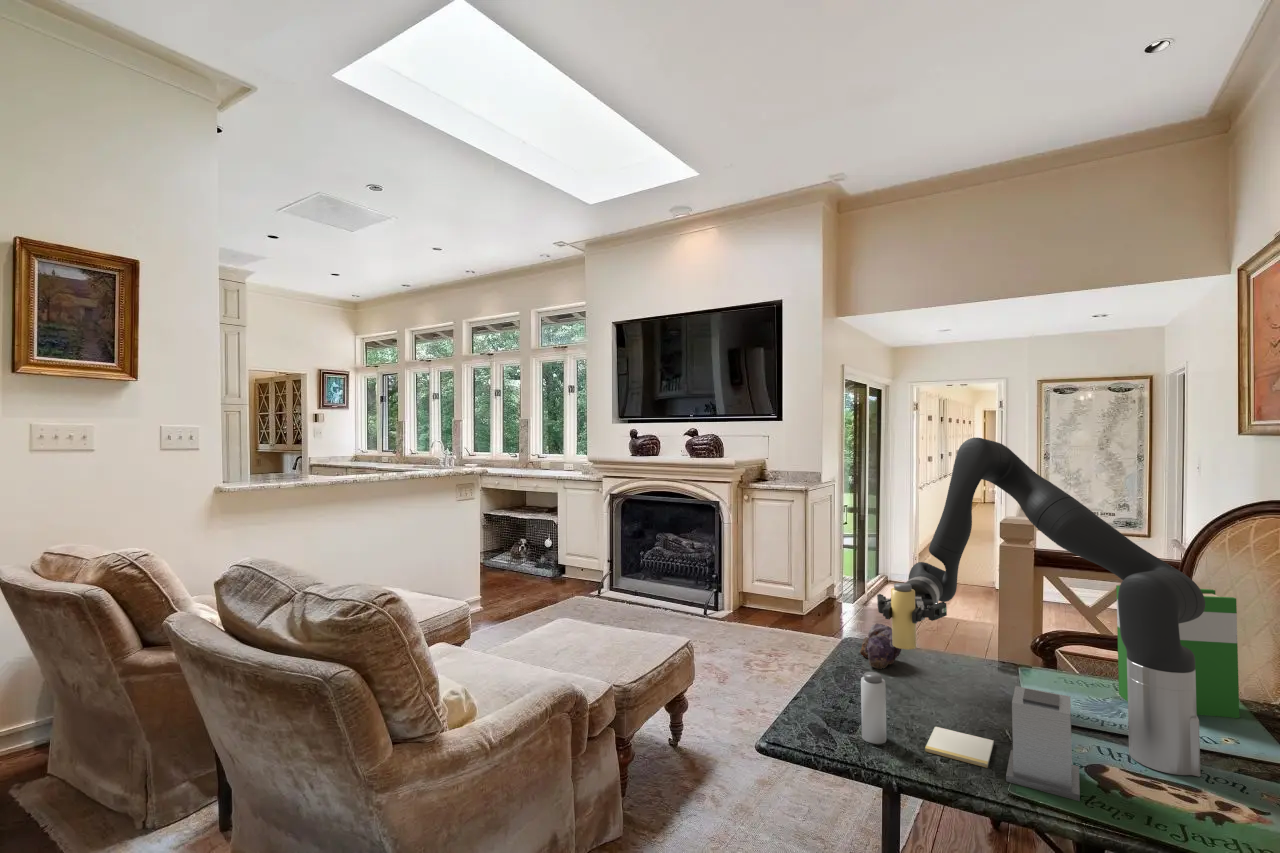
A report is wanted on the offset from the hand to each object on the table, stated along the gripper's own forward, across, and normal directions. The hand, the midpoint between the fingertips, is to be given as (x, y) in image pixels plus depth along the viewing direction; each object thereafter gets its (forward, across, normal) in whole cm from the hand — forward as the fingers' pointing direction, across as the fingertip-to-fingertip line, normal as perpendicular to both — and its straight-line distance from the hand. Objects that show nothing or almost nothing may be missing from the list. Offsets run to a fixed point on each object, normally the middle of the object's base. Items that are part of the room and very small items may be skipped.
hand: (900, 616), depth 120 cm
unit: (+3, +23, +23) cm, 32 cm away
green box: (-44, +45, +23) cm, 67 cm away
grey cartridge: (+5, -4, +23) cm, 24 cm away
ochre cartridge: (-3, 0, +6) cm, 7 cm away
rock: (-36, -13, +23) cm, 44 cm away
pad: (0, +10, +23) cm, 25 cm away
